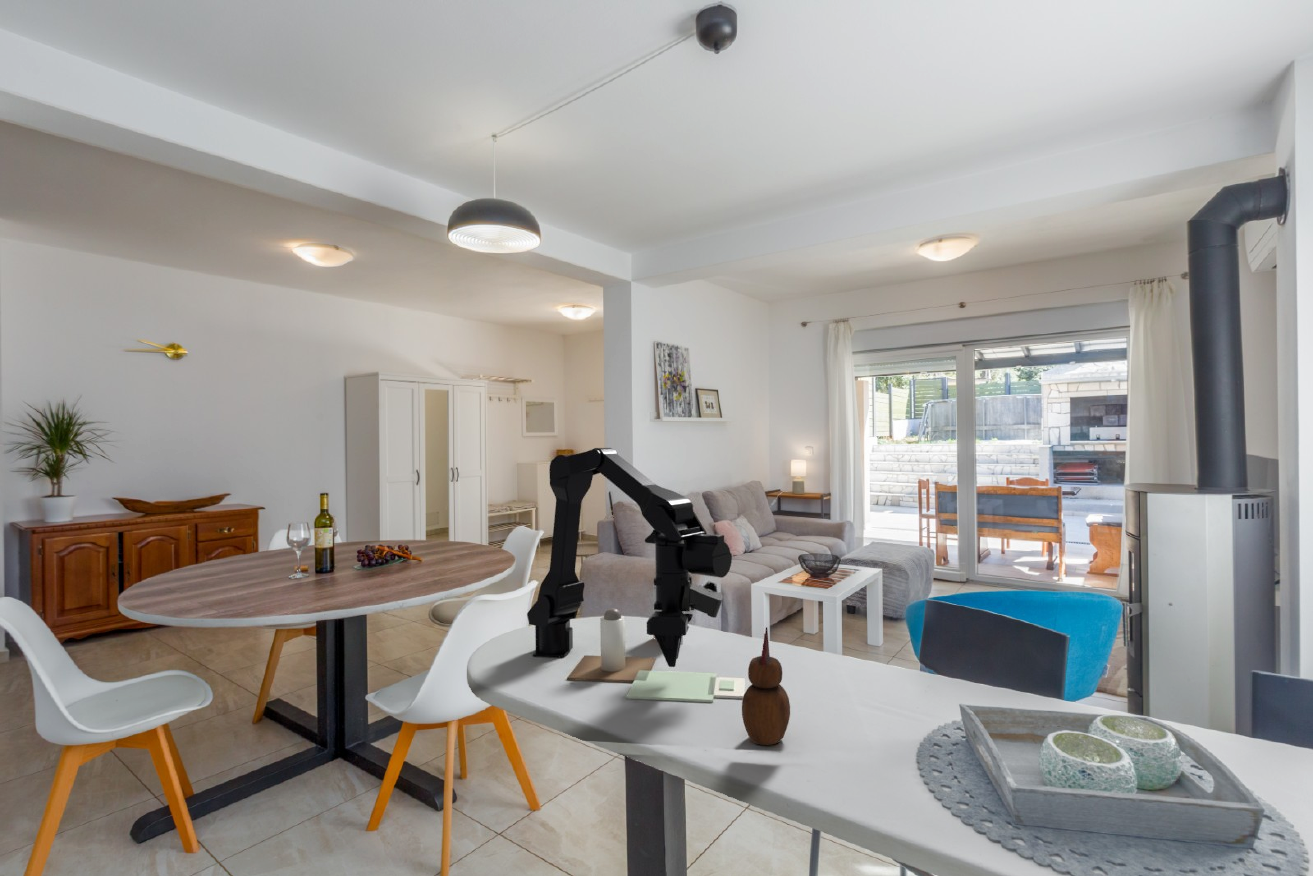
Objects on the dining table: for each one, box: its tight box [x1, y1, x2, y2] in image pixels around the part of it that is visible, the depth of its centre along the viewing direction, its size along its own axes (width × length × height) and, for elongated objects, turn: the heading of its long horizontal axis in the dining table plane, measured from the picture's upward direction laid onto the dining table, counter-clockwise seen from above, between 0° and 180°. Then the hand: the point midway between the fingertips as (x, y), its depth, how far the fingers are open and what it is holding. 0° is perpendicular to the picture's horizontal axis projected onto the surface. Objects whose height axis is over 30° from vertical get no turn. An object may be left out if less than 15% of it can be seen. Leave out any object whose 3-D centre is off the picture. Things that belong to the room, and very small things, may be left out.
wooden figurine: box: [741, 626, 791, 746], centre depth 88 cm, size 7×6×15 cm
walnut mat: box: [566, 654, 657, 684], centre depth 116 cm, size 14×12×1 cm
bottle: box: [599, 607, 626, 672], centre depth 116 cm, size 4×4×11 cm
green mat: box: [626, 670, 718, 703], centre depth 107 cm, size 14×12×1 cm
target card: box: [708, 676, 746, 700], centre depth 106 cm, size 6×8×1 cm
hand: (673, 662), depth 108 cm, fingers open, 4 cm apart
